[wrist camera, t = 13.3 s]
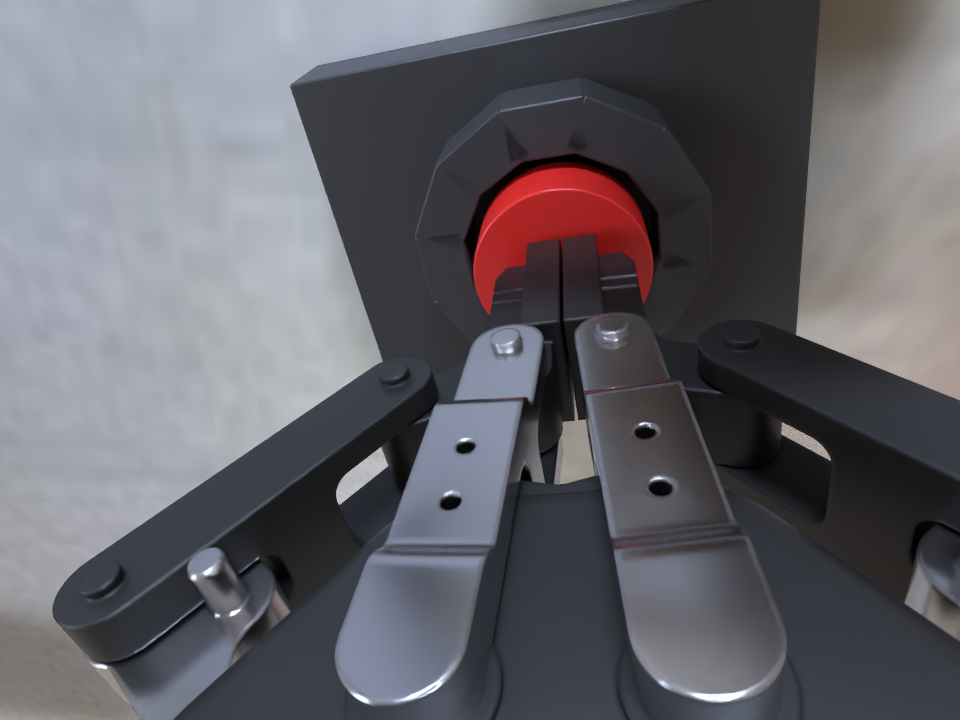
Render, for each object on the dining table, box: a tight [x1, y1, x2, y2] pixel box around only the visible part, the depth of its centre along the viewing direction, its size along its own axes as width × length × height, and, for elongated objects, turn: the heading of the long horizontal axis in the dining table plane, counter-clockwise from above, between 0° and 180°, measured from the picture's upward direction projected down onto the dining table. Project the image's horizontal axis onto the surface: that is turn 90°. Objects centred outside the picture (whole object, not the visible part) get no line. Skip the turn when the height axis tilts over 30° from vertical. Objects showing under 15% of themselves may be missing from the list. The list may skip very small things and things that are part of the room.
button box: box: [290, 0, 820, 373], centre depth 18 cm, size 12×9×4 cm
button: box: [473, 162, 653, 315], centre depth 16 cm, size 4×4×2 cm
